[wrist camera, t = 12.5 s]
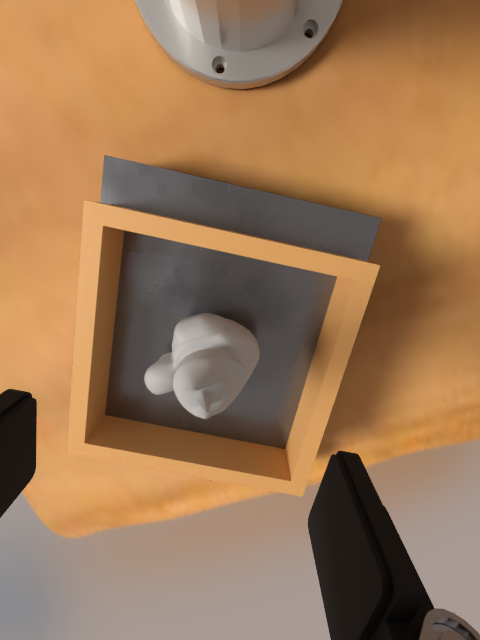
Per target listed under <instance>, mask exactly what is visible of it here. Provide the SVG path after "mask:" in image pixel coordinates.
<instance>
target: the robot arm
mask: <svg viewBox="0 0 480 640" xmlns="http://www.w3.org/2000/svg"><path fill="white" fill-rule="evenodd" d="M342 1H343V0H135V2H136V4H137V7H138V9H139V11H140V13H141V16H142V18H143V20H144V22H145V24H146V25H147V27H148V29H149V31H150V32H151V34H152V36H153V38H154V39H155V41H156V42H157V44H158V45H159V46H160V47H161V48H162V50H163V51H164V52H165V53H166V54H167V56H168V57H169V58H170V59H171V60H172V61H173V62H175V63H176V64H177V65H178V66H179V67H180V68H182V69H183V70H184V71H185V72H186V73H188V74H190V75H192V76H194V77H196V78H197V79H199V80H201V81H203V82H205V83H208V84H212V85H215V86H218V87H222V88H232V89H247V88H254V87H260V86H263V85H266V84H269V83H271V82H274V81H277V80H279V79H281V78H283V77H284V76H286V75H287V74H289V73H290V72H292V71H294V70H295V69H297V68H298V67H299V66H300V65H301V64H302V63H303V62H304V61H305V60H306V59H307V58H308V57H310V56H311V55H312V54H313V53H314V51H315V50H316V49H317V47H318V46H319V44H320V43H321V42H322V40H323V39H324V38H325V36H326V35H327V33H328V31H329V29H330V27H331V25H332V24H333V22H334V20H335V18H336V16H337V14H338V12H339V9H340V7H341V4H342ZM306 33H309V34H310V35H311V37H312V38H307V37H306V36H305V34H306ZM218 68H223V69H224V72H223V73H220V74H218V73H217V72H216V71H217V69H218ZM36 415H37V402H36V399H34V398H32V395H31V393H29V392H25V391H19V390H14V389H8V390H6V391H4V392H3V393H2V394H0V517H1V516H2V515H3V514H4V513H5V511H6V510H7V509H8V508H9V506H10V505H11V504H12V503H13V501H14V500H15V499H16V498H17V496H18V495H19V494H20V493H21V492H22V490H23V489H24V488H25V487H26V485H27V484H28V483H29V482H30V480H31V479H32V477H33V475H34V473H35V469H36ZM308 529H309V534H310V539H311V544H312V549H313V554H314V559H315V564H316V569H317V574H318V578H319V583H320V588H321V593H322V598H323V603H324V608H325V613H326V618H327V623H328V628H329V633H330V637H331V640H480V635H479V633H478V632H477V631H476V630H475V629H474V628H473V627H472V626H470V625H469V624H468V623H467V622H466V621H465V620H463V619H462V618H460V617H459V616H457V615H456V614H454V613H452V612H449V611H447V610H445V609H434V607H433V605H432V603H431V600H430V598H429V596H428V594H427V592H426V590H425V588H424V586H423V584H422V582H421V580H420V578H419V576H418V573H417V571H416V569H415V567H414V565H413V563H412V561H411V559H410V557H409V555H408V553H407V551H406V549H405V547H404V544H403V542H402V541H401V539H400V537H399V534H398V533H397V530H396V528H395V526H394V524H393V522H392V520H391V518H390V516H389V513H388V512H387V510H386V508H385V507H384V506H383V505H382V503H381V500H380V498H379V496H378V494H377V492H376V490H375V488H374V486H373V484H372V481H371V480H370V477H369V476H368V473H367V471H366V469H365V467H364V465H363V463H362V461H361V458H360V457H359V455H358V454H355V453H350V452H345V451H338V452H337V454H336V455H335V454H333V455H332V456H331V458H330V460H329V463H328V466H327V468H326V471H325V474H324V476H323V479H322V482H321V484H320V487H319V490H318V493H317V495H316V498H315V501H314V503H313V506H312V509H311V511H310V514H309V518H308Z"/></svg>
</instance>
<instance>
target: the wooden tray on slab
mask: <svg viewBox="0 0 480 640" xmlns="http://www.w3.org/2000/svg"><path fill="white" fill-rule="evenodd" d="M381 219H382V218H378V217H374V216H369V215H365V214H361V213H356V212H352V211H347V210H343V209H339V208H334V207H330V206H325V205H321V204H317V203H312V202H308V201H304V200H299V199H295V198H290V197H286V196H282V195H277V194H273V193H269V192H264V191H260V190H255V189H251V188H247V187H242V186H238V185H234V184H229V183H225V182H220V181H216V180H212V179H207V178H203V177H199V176H194V175H190V174H185V173H181V172H177V171H172V170H168V169H164V168H159V167H155V166H150V165H146V164H142V163H137V162H133V161H129V160H124V159H120V158H115V157H111V156H107V155H104V166H103V178H102V191H101V203H100V202H94V201H87V200H84V208H83V222H82V237H81V252H80V267H79V281H78V296H77V311H76V326H75V341H74V355H73V370H72V385H71V400H70V414H69V429H68V444H67V454H71V455H77V456H82V457H88V458H93V459H99V460H104V461H110V462H115V463H121V464H126V465H132V466H137V467H143V468H148V469H154V470H159V471H165V472H170V473H176V474H181V475H187V476H192V477H198V478H203V479H209V480H214V481H220V482H225V483H231V484H236V485H242V486H247V487H253V488H258V489H264V490H269V491H275V492H280V493H286V494H291V495H297V496H303V493H304V490H305V488H306V485H307V482H308V479H309V476H310V473H311V470H312V467H313V464H314V461H315V458H316V455H317V452H318V449H319V446H320V443H321V440H322V437H323V434H324V431H325V428H326V425H327V422H328V419H329V416H330V413H331V410H332V408H333V405H334V402H335V399H336V396H337V393H338V390H339V387H340V384H341V381H342V378H343V375H344V372H345V369H346V366H347V363H348V360H349V357H350V354H351V351H352V348H353V345H354V342H355V339H356V336H357V333H358V330H359V327H360V324H361V322H362V319H363V316H364V313H365V310H366V307H367V304H368V301H369V298H370V295H371V292H372V289H373V286H374V283H375V280H376V277H377V274H378V271H379V268H380V265H377V264H374V263H370V262H368V259H369V256H370V253H371V250H372V246H373V243H374V240H375V237H376V234H377V231H378V228H379V225H380V222H381ZM202 313H210V314H215V315H218V316H221V317H223V318H225V319H230V320H233V321H235V322H237V323H238V324H240V325H242V326H243V327H245V328H247V329H248V330H249V331H250V332H251V333H252V334H253V335H254V337H255V338H256V340H257V343H258V346H259V351H260V356H259V360H258V363H257V365H256V367H255V368H254V370H253V372H252V374H251V376H250V377H249V379H248V381H247V382H246V383H245V385H244V386H243V388H242V390H241V391H240V393H239V394H238V395H237V397H236V398H235V399H234V400H233V401H232V403H231V404H230V405H229V406H228V407H227V408H226V409H225V410H224V411H222V412H220V413H218V414H216V415H213V416H211V417H210V418H208V419H203V418H200V417H197V416H194V415H193V414H191V413H190V412H188V411H187V410H186V409H185V408H184V407H183V406H182V404H181V403H180V402H179V400H178V399H177V397H176V395H175V392H174V391H171V392H168V393H165V394H160V395H156V394H153V393H152V392H151V391H150V390H149V389H148V388H147V386H146V384H145V380H144V377H145V373H146V371H147V370H148V368H149V367H150V366H152V365H153V364H154V363H156V362H157V361H158V360H159V359H160V357H161V356H162V355H164V354H166V353H169V352H172V341H173V336H174V330H175V327H176V325H177V324H178V323H179V322H180V321H181V320H183V319H185V318H188V317H191V316H195V315H198V314H202Z"/></svg>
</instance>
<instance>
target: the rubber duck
mask: <svg viewBox="0 0 480 640" xmlns="http://www.w3.org/2000/svg"><path fill="white" fill-rule="evenodd" d="M259 356H260V351H259V346H258V343H257V340H256V338H255V337H254V335H253V334H252V333H251V332H250V331H249V330H248V329H247V328H245V327H243V326H242V325H240V324H238V323H237V322H235V321H233V320H230V319H225V318H223V317H221V316H218V315H215V314H210V313H202V314H198V315H195V316H191V317H188V318H185V319H183V320H181V321H180V322H179V323H178V324H177V325H176V327H175V330H174V336H173V341H172V352H169V353H166V354H164V355H162V356H161V357H160V359H159V360H158V361H157V362H156V363H154V364H153V365H152V366H150V367H149V368H148V370H147V371H146V373H145V377H144V380H145V384H146V386H147V388H148V389H149V390H150V391H151V392H152V393H153V394H156V395H160V394H165V393H168V392H171V391H174V392H175V395H176V397H177V399H178V400H179V402H180V403H181V404H182V406H183V407H184V408H185V409H186V410H187V411H188V412H190V413H191V414H193V415H194V416H197V417H200V418H203V419H208V418H210V417H211V416H213V415H216V414H218V413H220V412H222V411H224V410H225V409H226V408H227V407H228V406H229V405H230V404H231V403H232V401H233V400H234V399H235V398H236V397H237V395H238V394H239V393H240V391H241V390H242V388H243V386H244V385H245V383H246V382H247V381H248V379H249V377H250V376H251V374H252V372H253V370H254V368H255V367H256V365H257V363H258V360H259Z"/></svg>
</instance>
